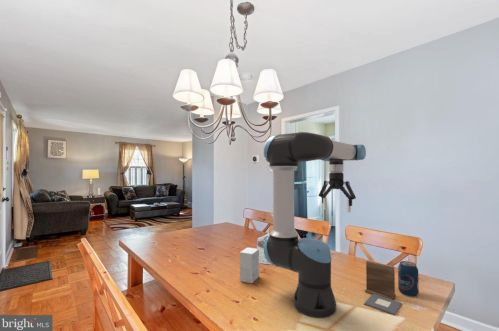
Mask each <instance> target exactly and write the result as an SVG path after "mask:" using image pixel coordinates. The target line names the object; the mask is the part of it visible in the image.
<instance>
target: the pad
mask: <svg viewBox="0 0 499 331" xmlns="http://www.w3.org/2000/svg"><path fill="white" fill-rule="evenodd" d="M363 305H365V306H367V307H370V308H372V309H375V310H378V311H380V312H384V313H386V314H389V315H392V316H396V314H397V312H398V311H399V309H400V308H401V306H402V305H403V303H402V302H401V301H397V300H395V299H394V300H392V299H389V298H385V297H382V296H379V295H376V294H372V295H371V294H370V296H369V297H368V298H367V300H366V301H365V302H364V304H363Z"/></svg>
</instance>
